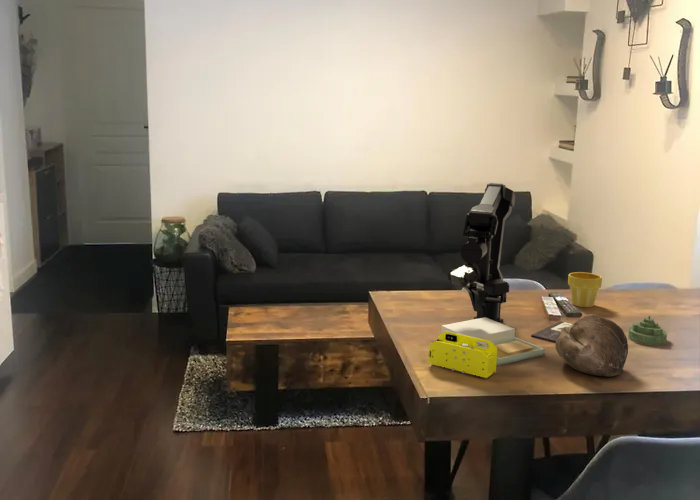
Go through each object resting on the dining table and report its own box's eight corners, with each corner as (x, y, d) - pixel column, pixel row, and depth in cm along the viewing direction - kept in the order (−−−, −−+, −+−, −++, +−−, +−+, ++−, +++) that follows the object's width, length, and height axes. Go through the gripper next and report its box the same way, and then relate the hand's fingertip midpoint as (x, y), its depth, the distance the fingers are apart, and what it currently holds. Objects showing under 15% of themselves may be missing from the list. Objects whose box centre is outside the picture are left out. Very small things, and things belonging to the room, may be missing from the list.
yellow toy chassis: (496, 374, 184) (498, 342, 183) (486, 381, 180) (488, 348, 178) (438, 360, 193) (440, 328, 192) (427, 366, 189) (428, 334, 187)
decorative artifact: (628, 332, 219) (627, 343, 210) (630, 309, 218) (630, 318, 209) (665, 337, 216) (666, 347, 207) (668, 313, 214) (669, 323, 205)
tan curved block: (533, 347, 197) (533, 354, 197) (517, 340, 202) (516, 347, 202) (508, 353, 192) (507, 360, 192) (491, 346, 197) (491, 353, 197)
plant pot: (572, 298, 253) (575, 270, 251) (603, 304, 247) (606, 275, 245) (561, 305, 245) (563, 275, 243) (593, 311, 239) (596, 281, 237)
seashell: (575, 350, 177) (594, 298, 184) (534, 362, 192) (553, 314, 199) (627, 385, 180) (644, 333, 186) (583, 395, 194) (600, 346, 201)
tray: (514, 342, 208) (514, 336, 207) (544, 354, 198) (544, 348, 198) (469, 352, 199) (470, 346, 199) (498, 365, 190) (499, 359, 190)
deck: (484, 330, 217) (485, 317, 217) (514, 342, 208) (515, 328, 207) (440, 339, 209) (441, 325, 208) (469, 352, 199) (470, 337, 198)
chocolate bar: (531, 335, 213) (560, 321, 226) (531, 338, 213) (559, 324, 226) (561, 342, 207) (589, 327, 221) (560, 345, 207) (588, 331, 221)
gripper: (434, 252, 209) (431, 306, 212) (480, 266, 193) (477, 325, 197) (465, 248, 215) (462, 301, 218) (512, 261, 199) (508, 318, 203)
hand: (476, 311), depth 209 cm, fingers closed
